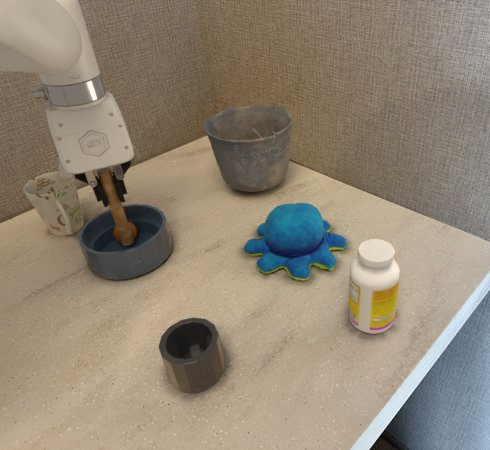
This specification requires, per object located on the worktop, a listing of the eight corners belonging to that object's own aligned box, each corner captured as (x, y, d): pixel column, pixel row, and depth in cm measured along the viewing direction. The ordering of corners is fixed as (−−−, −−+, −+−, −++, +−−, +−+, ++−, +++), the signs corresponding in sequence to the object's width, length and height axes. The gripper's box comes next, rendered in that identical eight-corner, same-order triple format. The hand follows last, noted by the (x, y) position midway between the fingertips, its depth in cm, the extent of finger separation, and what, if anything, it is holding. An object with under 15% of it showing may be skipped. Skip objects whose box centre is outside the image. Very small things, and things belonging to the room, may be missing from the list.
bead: (110, 226, 76) (110, 223, 80) (117, 247, 77) (117, 243, 81) (134, 220, 78) (133, 217, 81) (140, 241, 79) (139, 237, 82)
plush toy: (276, 295, 69) (272, 254, 64) (232, 239, 81) (226, 201, 76) (362, 257, 75) (365, 217, 70) (310, 210, 87) (309, 173, 82)
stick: (122, 246, 76) (97, 174, 68) (121, 241, 78) (96, 169, 70) (134, 243, 77) (110, 171, 69) (133, 237, 78) (109, 166, 70)
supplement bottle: (400, 311, 65) (410, 243, 58) (384, 342, 61) (392, 273, 53) (359, 295, 68) (363, 228, 61) (340, 324, 64) (341, 256, 56)
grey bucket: (287, 212, 87) (283, 142, 78) (202, 206, 90) (189, 138, 81) (301, 168, 101) (299, 104, 92) (227, 164, 104) (218, 102, 95)
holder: (177, 403, 54) (167, 374, 51) (163, 360, 60) (153, 330, 56) (232, 378, 57) (226, 349, 54) (214, 339, 62) (207, 309, 59)
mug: (82, 209, 91) (65, 166, 85) (104, 237, 83) (87, 192, 77) (39, 226, 86) (18, 182, 81) (58, 257, 78) (36, 210, 73)
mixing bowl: (95, 293, 71) (83, 265, 67) (85, 245, 81) (74, 218, 77) (182, 263, 76) (175, 236, 72) (162, 222, 86) (155, 196, 82)
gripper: (12, 111, 56) (63, 227, 67) (139, 87, 62) (167, 197, 73) (12, 93, 62) (60, 203, 73) (129, 73, 67) (156, 178, 78)
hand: (113, 199), depth 73 cm, fingers closed on stick, 2 cm apart
